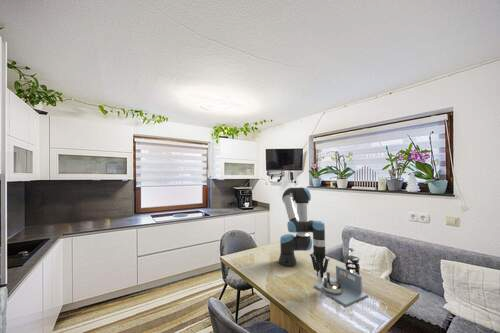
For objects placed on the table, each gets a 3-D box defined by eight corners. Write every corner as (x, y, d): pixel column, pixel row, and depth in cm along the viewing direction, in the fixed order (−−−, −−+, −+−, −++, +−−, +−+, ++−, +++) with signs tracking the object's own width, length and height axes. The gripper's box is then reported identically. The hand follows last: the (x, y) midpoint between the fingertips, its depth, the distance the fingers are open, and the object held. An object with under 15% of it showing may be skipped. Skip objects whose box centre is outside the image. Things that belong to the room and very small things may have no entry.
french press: (354, 288, 132) (353, 252, 133) (342, 281, 140) (340, 248, 141) (365, 283, 137) (363, 249, 139) (352, 277, 145) (351, 245, 147)
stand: (314, 286, 134) (313, 269, 134) (334, 279, 143) (334, 263, 144) (345, 306, 112) (344, 286, 113) (367, 296, 122) (366, 277, 122)
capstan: (318, 286, 130) (318, 275, 131) (331, 282, 136) (330, 271, 136) (333, 296, 120) (333, 283, 120) (347, 291, 125) (346, 279, 126)
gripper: (307, 244, 133) (308, 280, 132) (325, 249, 124) (327, 288, 122) (313, 241, 138) (314, 276, 137) (331, 246, 129) (332, 284, 127)
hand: (320, 282), depth 129 cm, fingers closed
